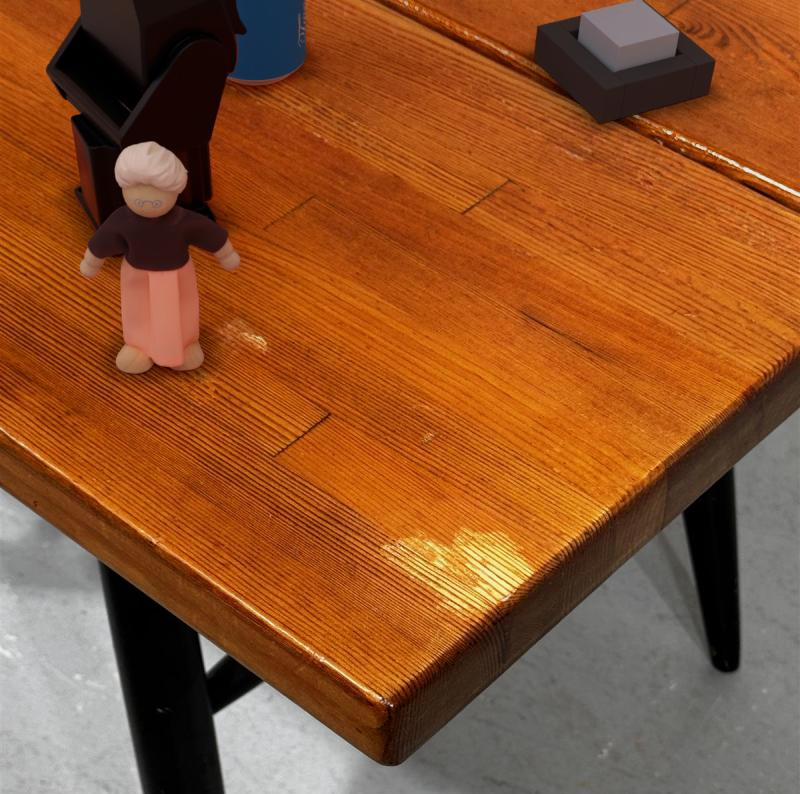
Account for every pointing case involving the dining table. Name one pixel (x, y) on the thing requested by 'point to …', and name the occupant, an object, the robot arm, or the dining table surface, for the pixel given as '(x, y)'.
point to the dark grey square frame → (621, 73)
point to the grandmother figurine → (156, 260)
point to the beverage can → (270, 41)
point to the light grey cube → (627, 35)
